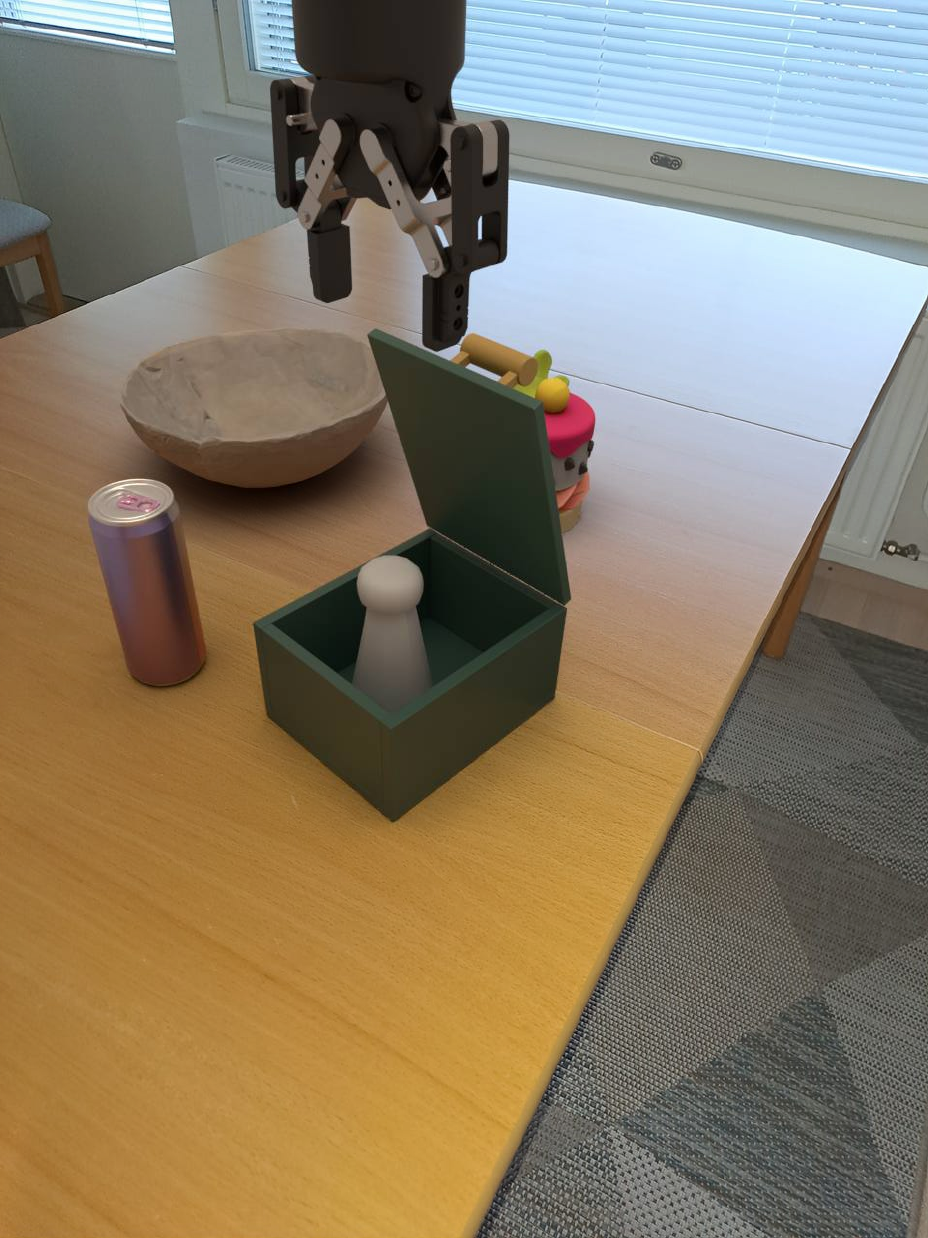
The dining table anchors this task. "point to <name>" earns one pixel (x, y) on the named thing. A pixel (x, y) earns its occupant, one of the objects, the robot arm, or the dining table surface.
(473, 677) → the chest
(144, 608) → the beverage can
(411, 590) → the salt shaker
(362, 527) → the dining table surface
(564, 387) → the cake
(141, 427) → the bowl
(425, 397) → the lid
